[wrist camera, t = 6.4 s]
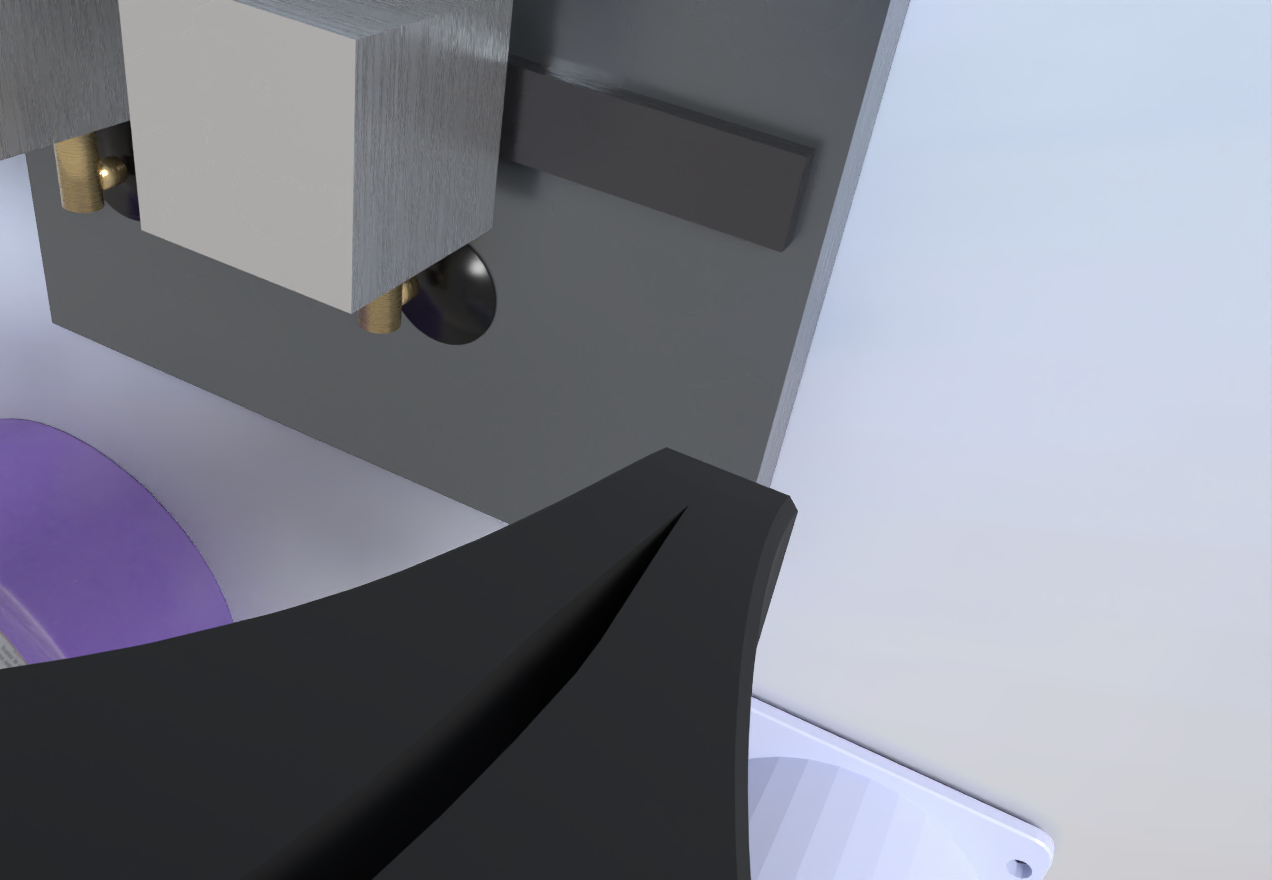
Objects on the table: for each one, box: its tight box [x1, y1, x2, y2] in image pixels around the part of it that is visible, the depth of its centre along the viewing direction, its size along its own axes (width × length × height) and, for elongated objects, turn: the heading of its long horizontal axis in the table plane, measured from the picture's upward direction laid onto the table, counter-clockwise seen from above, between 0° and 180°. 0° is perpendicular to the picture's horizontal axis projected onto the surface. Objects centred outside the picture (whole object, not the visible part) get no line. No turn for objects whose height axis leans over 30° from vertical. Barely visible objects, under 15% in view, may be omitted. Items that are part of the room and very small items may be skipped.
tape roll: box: [0, 419, 233, 669], centre depth 34 cm, size 12×12×5 cm
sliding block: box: [118, 0, 513, 334], centre depth 18 cm, size 6×4×4 cm, turn 170°
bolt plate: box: [0, 0, 910, 524], centre depth 20 cm, size 14×18×6 cm
